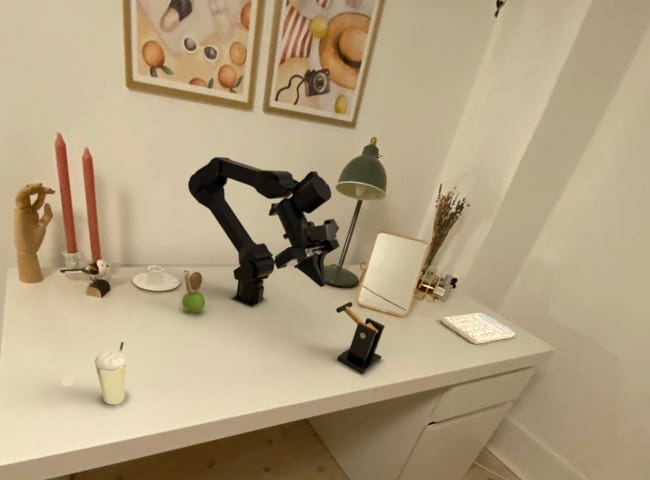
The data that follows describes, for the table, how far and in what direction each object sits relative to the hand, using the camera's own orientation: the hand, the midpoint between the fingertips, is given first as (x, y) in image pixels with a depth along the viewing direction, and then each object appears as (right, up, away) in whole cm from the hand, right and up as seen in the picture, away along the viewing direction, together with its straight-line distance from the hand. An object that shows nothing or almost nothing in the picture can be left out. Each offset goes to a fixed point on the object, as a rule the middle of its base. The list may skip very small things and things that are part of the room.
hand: (323, 286), depth 88 cm
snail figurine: (-32, -6, +6) cm, 33 cm away
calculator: (+50, -8, +28) cm, 58 cm away
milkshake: (-38, -24, -23) cm, 51 cm away
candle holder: (-44, +4, +15) cm, 47 cm away
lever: (+7, -9, -2) cm, 12 cm away
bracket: (+9, -17, +1) cm, 20 cm away
